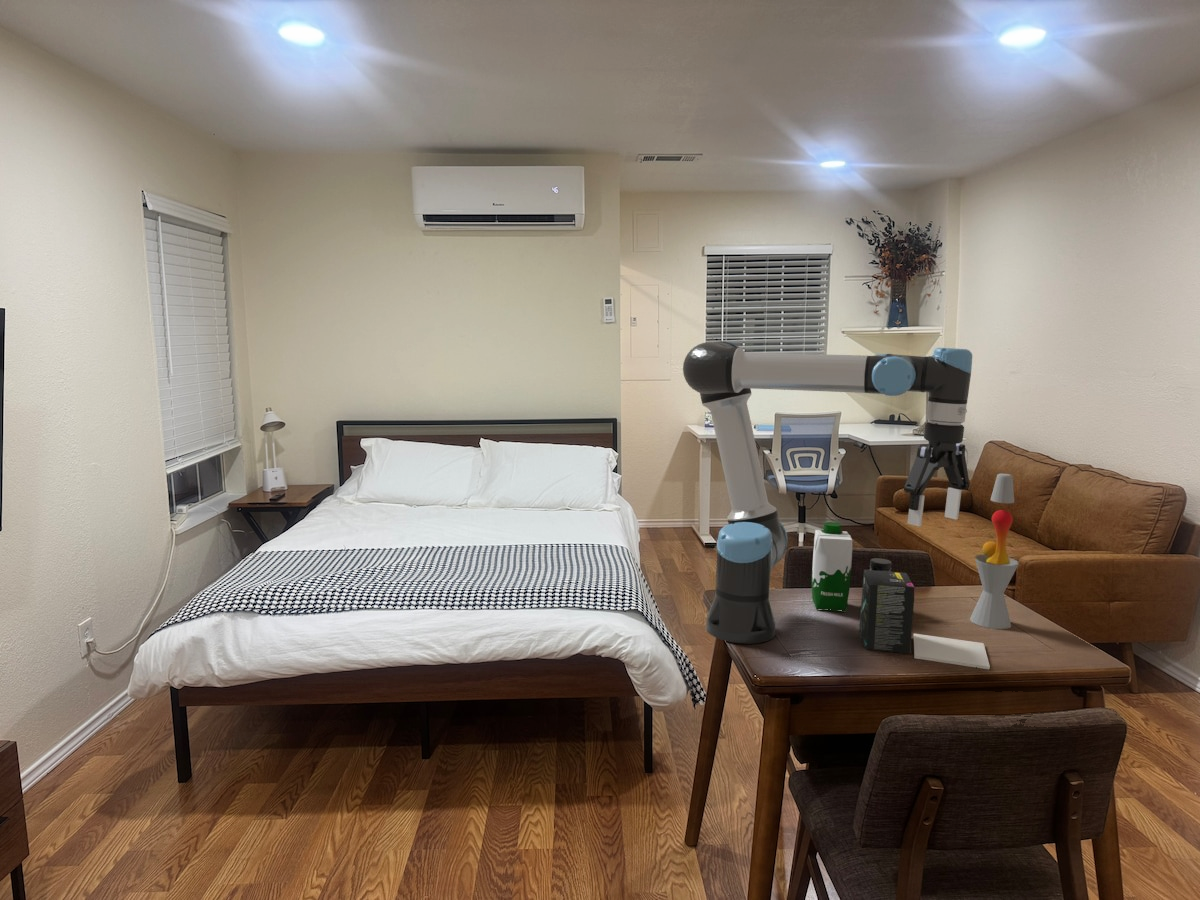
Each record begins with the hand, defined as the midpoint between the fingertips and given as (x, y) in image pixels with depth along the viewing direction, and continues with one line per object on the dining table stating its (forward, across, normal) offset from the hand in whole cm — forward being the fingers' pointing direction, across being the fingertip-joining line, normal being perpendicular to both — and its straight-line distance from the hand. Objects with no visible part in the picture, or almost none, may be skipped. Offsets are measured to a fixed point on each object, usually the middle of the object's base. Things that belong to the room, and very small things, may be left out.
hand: (933, 521), depth 168 cm
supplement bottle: (+27, +9, +17) cm, 33 cm away
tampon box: (+27, -8, +3) cm, 28 cm away
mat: (+26, -1, -8) cm, 27 cm away
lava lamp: (+26, +24, -3) cm, 36 cm away
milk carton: (+27, 0, +25) cm, 37 cm away
